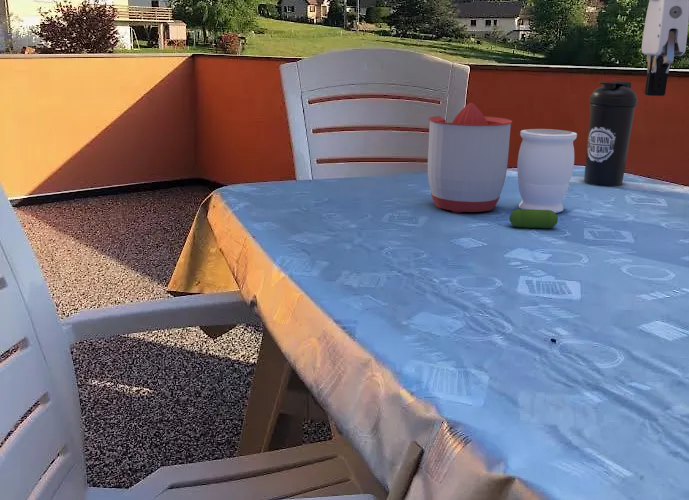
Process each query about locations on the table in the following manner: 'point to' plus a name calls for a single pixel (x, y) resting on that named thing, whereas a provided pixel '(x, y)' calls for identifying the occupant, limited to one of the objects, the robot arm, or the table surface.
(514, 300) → the table surface
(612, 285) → the table surface
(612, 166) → the water bottle
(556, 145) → the jar
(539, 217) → the pickle
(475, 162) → the citrus juicer
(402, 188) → the table surface
